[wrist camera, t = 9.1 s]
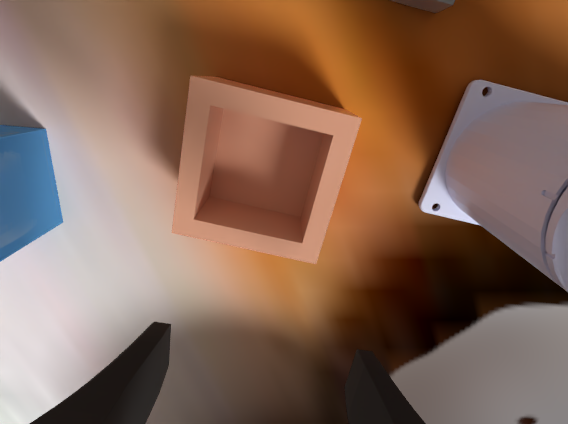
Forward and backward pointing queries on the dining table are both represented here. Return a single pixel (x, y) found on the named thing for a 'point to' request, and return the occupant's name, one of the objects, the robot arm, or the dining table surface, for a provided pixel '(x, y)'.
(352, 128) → the peach hollow square block
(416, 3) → the tray
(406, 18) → the dining table surface
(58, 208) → the perfume bottle
